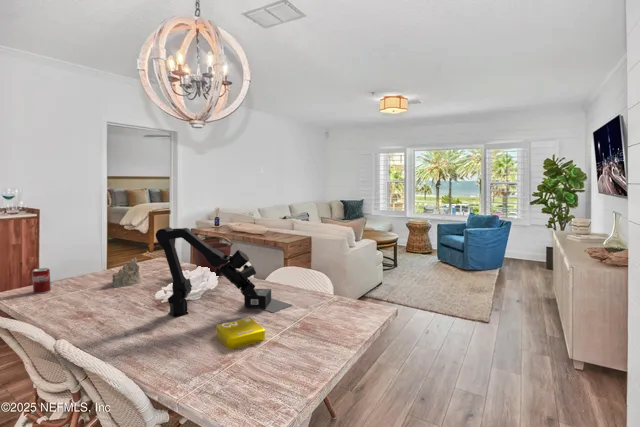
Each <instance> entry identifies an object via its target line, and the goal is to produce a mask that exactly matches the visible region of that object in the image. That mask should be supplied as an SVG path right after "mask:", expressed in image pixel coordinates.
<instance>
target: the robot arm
mask: <svg viewBox="0 0 640 427" xmlns="http://www.w3.org/2000/svg"><path fill="white" fill-rule="evenodd" d="M155 238H156V241H157V243H158V244H159V246H160V247H161V248H162V249H163V252H164V255H165V257H166V261H167V265H168V268H169V271H170V274H171V278H172V286H171V288H172V294H171V295H170V296H169V297H168V298H167V302H168V304H169V312H168V313H167V314H168V315H170V316H172V317H174V318H178V317H181V316H184V315H189V311H188V301H187V297H188V295H190V294H191V292H192V287H193V285H192V284H191V279H190V278H186V277H185V276H184V273H183V269H182V266H181V262H180V258H179V255H178V252H177V248H176V239H183V240H184V241H185V242H187V243H188V244H189V245H190V246H191V247H192V248H193V247H194V248H195V249H197V250H198V251H199V252H200V253H202V254H203V255H204V257H205V259H206V260H207V261H208V263H209V264H210V265H211V266H213V267H219V266H220V265H222V264H224V265H222V266H221V267H220V268H216V276H219V275H220V274H222V275H223V276H222V277H224V279H226V280H228V282H230V283H231V284H232V285H233V286H235V287H236V288H237V289H238V290H240V293H241V294H242V296H245V297H247V296H248V295H252V296H257V293H256V292H255V290H254V289H256V285H255V284H254V283H253V282H252V281H251V280H250V279H249V278H250V277H252V276H254V275H257V272H256V269H255V267H254V266H253V265H247V263H248V262H249V261H250V259H249V256H248V255H247V254H246V253H245V252H243V251H241V250H240V249H237V250H236V251H235V252H234V253H233V254H232V255H230V256H229V255H225V254H224V253H222V252H220V251H219V250H217V249H214V248H212V247H210V246H209V245H207V244H206V243H207V242H205V241H204V240H203V239H200V238H201V237H199V236H197V235H196V233H194V232H192V231H191V229H190V228H188V227H182V228H181V227H180V228H179V227H177V228H173V227H169V226H166V227H163V228H160V229H158V230H157V231H156V233H155ZM228 261H229V262H228ZM227 262H228V263H227ZM226 263H227V264H226ZM241 268H243V269H242V270H241V271H240V269H241ZM238 269H239V270H238Z"/></svg>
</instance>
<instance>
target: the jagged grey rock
mask: <svg viewBox="0 0 640 427" xmlns="http://www.w3.org/2000/svg"><path fill="white" fill-rule="evenodd" d="M142 280H143V279H142V278H141V274H140V265H139V264H138V261H137V257H134V258H132V259H130V262H129V263H125V264H123V265H122V268H119V270H118V271H117V272H115V273H113V274H112V283H111V286H112V287H114V288H121V287H122V288H123V287H129V286H133V285H138V284H140V283H142Z"/></svg>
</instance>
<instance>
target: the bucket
mask: <svg viewBox="0 0 640 427" xmlns="http://www.w3.org/2000/svg"><path fill="white" fill-rule="evenodd" d="M199 238H200V239H201V240H203V239H205V238H219V239H222V240H224V241H225V242H205V243H206V244H207V245H209V246H210V247H212V248H214V249H217V250H219V251H220V252H222V253H224V254H225V255H229V256H231V251H232V250H231V248H232V246H233V245H234V243H233V242H232V241H231V239H229V238H227V237H225V236H221V235H217V234H216V235H214V234H213V235H212V234H211V235H205V236H203V237H199ZM229 243H230V244H229ZM192 252H193V257H194V260H195V265H196V268H197V267H198V266H201V267H208V268H210V271H211V272H215V273H216V268H220V267H221V266H222V265H224V264H222V265H220V266H219V267H213V266H211V265H210V264H209V263H208V261H207V260H206V259H205V257H204V255H203V254H202V253H200V252H199V251H198V250H197V249H195V248H194V247H193V246H192ZM228 262H229V261H228ZM228 262H227V263H228ZM227 263H226V264H227ZM220 277H224V276H223V275H222V274H220V275H219V277H218V278H220Z"/></svg>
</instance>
